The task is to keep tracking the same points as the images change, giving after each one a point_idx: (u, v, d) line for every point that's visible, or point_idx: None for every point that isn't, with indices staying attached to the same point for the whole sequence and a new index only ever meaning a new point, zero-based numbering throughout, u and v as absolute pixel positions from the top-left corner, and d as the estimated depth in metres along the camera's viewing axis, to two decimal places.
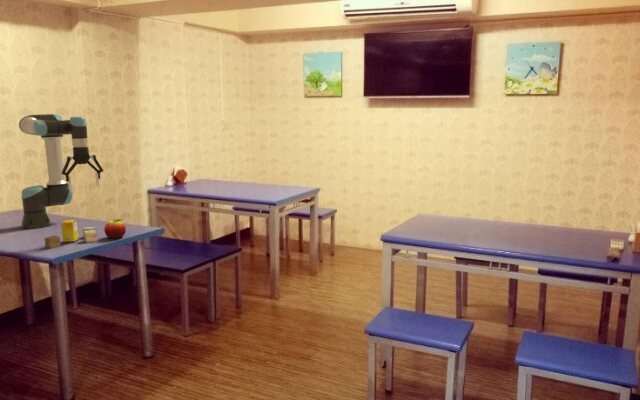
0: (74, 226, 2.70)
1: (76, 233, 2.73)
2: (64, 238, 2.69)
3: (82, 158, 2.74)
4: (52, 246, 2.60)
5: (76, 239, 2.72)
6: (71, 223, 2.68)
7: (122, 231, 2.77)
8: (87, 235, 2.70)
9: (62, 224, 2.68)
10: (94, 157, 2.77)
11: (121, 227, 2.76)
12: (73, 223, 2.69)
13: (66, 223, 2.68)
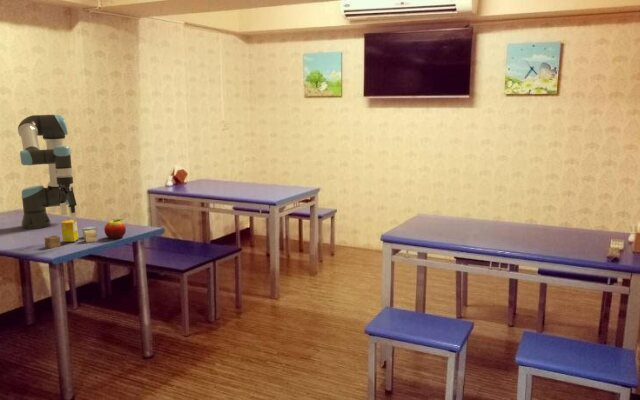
0: (74, 226, 2.70)
1: (76, 233, 2.73)
2: (64, 238, 2.69)
3: None
4: (52, 246, 2.60)
5: (76, 239, 2.72)
6: (71, 223, 2.68)
7: (122, 231, 2.77)
8: (87, 235, 2.70)
9: (62, 224, 2.68)
10: (67, 189, 2.62)
11: (121, 227, 2.76)
12: (73, 223, 2.69)
13: (66, 223, 2.68)
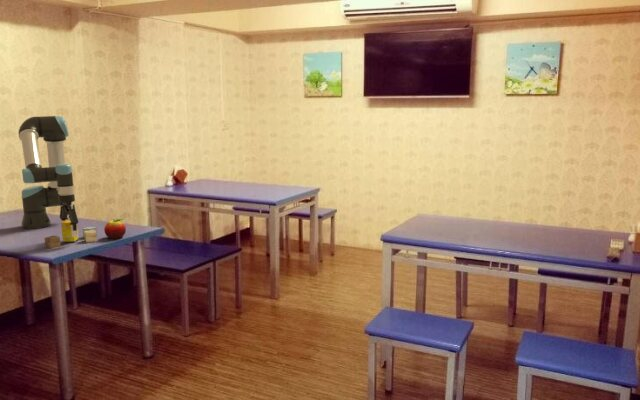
0: None
1: None
2: (64, 238, 2.69)
3: None
4: (52, 246, 2.60)
5: (76, 239, 2.72)
6: None
7: (122, 231, 2.77)
8: (87, 235, 2.70)
9: (62, 224, 2.68)
10: (69, 207, 2.64)
11: (121, 227, 2.76)
12: None
13: (66, 223, 2.68)
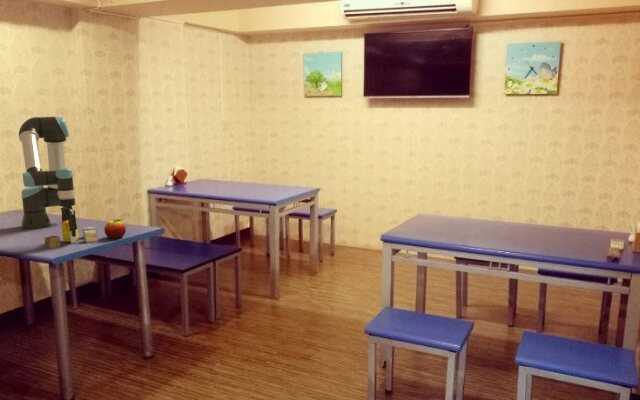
0: None
1: (76, 233, 2.73)
2: (64, 238, 2.69)
3: None
4: (52, 246, 2.60)
5: None
6: None
7: (122, 231, 2.77)
8: (87, 235, 2.70)
9: (62, 224, 2.68)
10: (69, 213, 2.65)
11: (121, 227, 2.76)
12: None
13: (66, 223, 2.68)
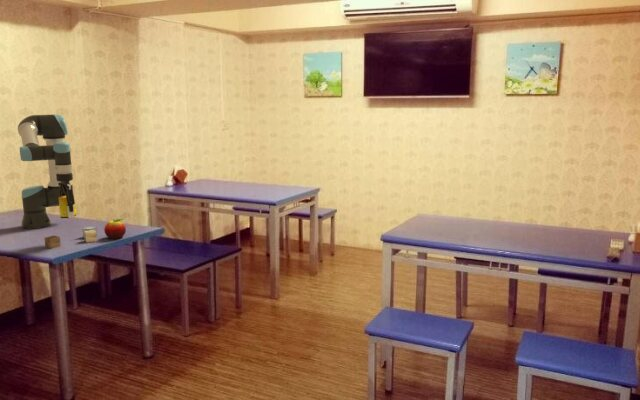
0: None
1: (74, 209, 2.70)
2: (61, 213, 2.67)
3: None
4: (52, 246, 2.60)
5: (74, 215, 2.70)
6: None
7: (122, 231, 2.77)
8: (87, 235, 2.70)
9: (59, 199, 2.66)
10: (67, 188, 2.62)
11: (121, 227, 2.76)
12: None
13: (63, 198, 2.66)
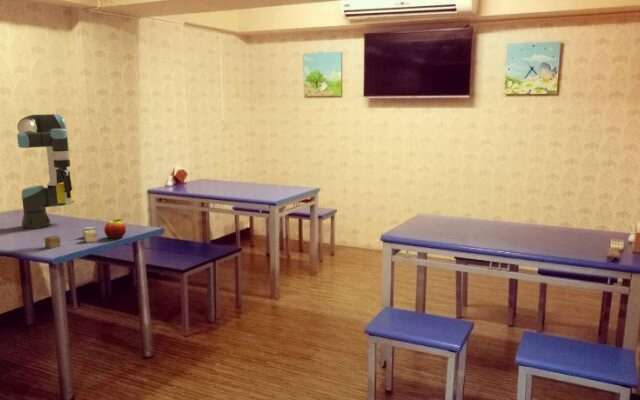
0: None
1: (71, 195, 2.70)
2: (59, 200, 2.67)
3: None
4: (52, 246, 2.60)
5: None
6: None
7: (122, 231, 2.77)
8: (87, 235, 2.70)
9: (57, 185, 2.66)
10: (64, 174, 2.62)
11: (121, 227, 2.76)
12: None
13: (61, 184, 2.66)
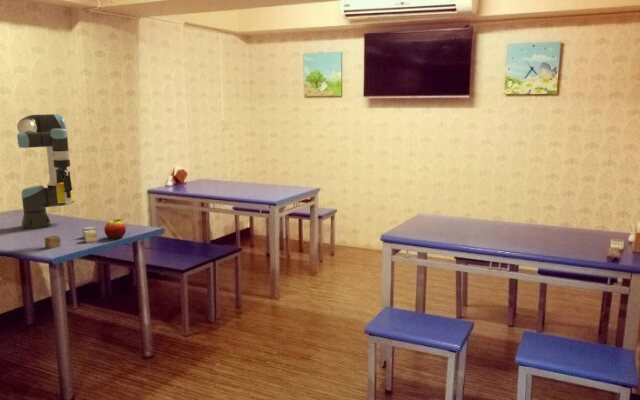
0: None
1: (71, 195, 2.70)
2: (59, 200, 2.67)
3: None
4: (52, 246, 2.60)
5: None
6: None
7: (122, 231, 2.77)
8: (87, 235, 2.70)
9: (57, 185, 2.66)
10: (64, 174, 2.62)
11: (121, 227, 2.76)
12: None
13: (61, 184, 2.66)
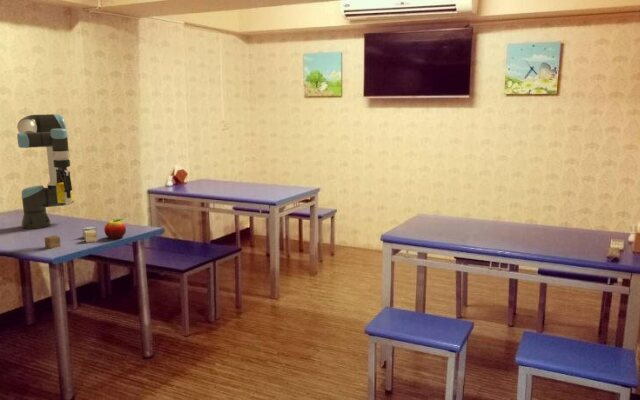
0: None
1: (71, 195, 2.70)
2: (59, 200, 2.67)
3: None
4: (52, 246, 2.60)
5: None
6: None
7: (122, 231, 2.77)
8: (87, 235, 2.70)
9: (57, 185, 2.66)
10: (64, 174, 2.62)
11: (121, 227, 2.76)
12: None
13: (61, 184, 2.66)
